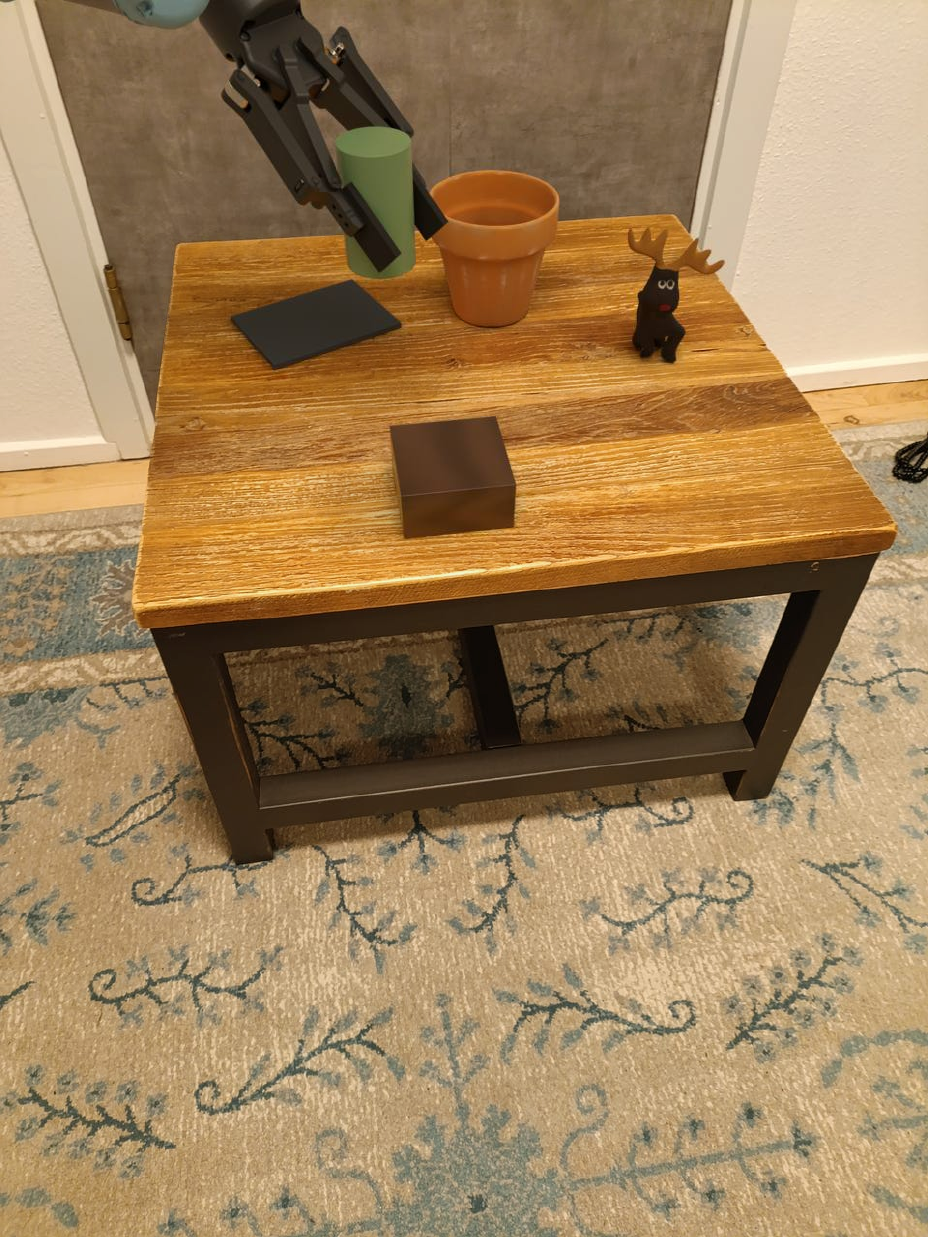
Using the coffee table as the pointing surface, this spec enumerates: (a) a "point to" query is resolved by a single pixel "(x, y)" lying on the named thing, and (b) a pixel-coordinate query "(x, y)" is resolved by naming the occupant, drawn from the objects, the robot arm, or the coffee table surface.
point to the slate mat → (314, 323)
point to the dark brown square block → (452, 477)
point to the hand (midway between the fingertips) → (413, 246)
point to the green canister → (380, 192)
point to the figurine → (663, 295)
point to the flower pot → (494, 241)
